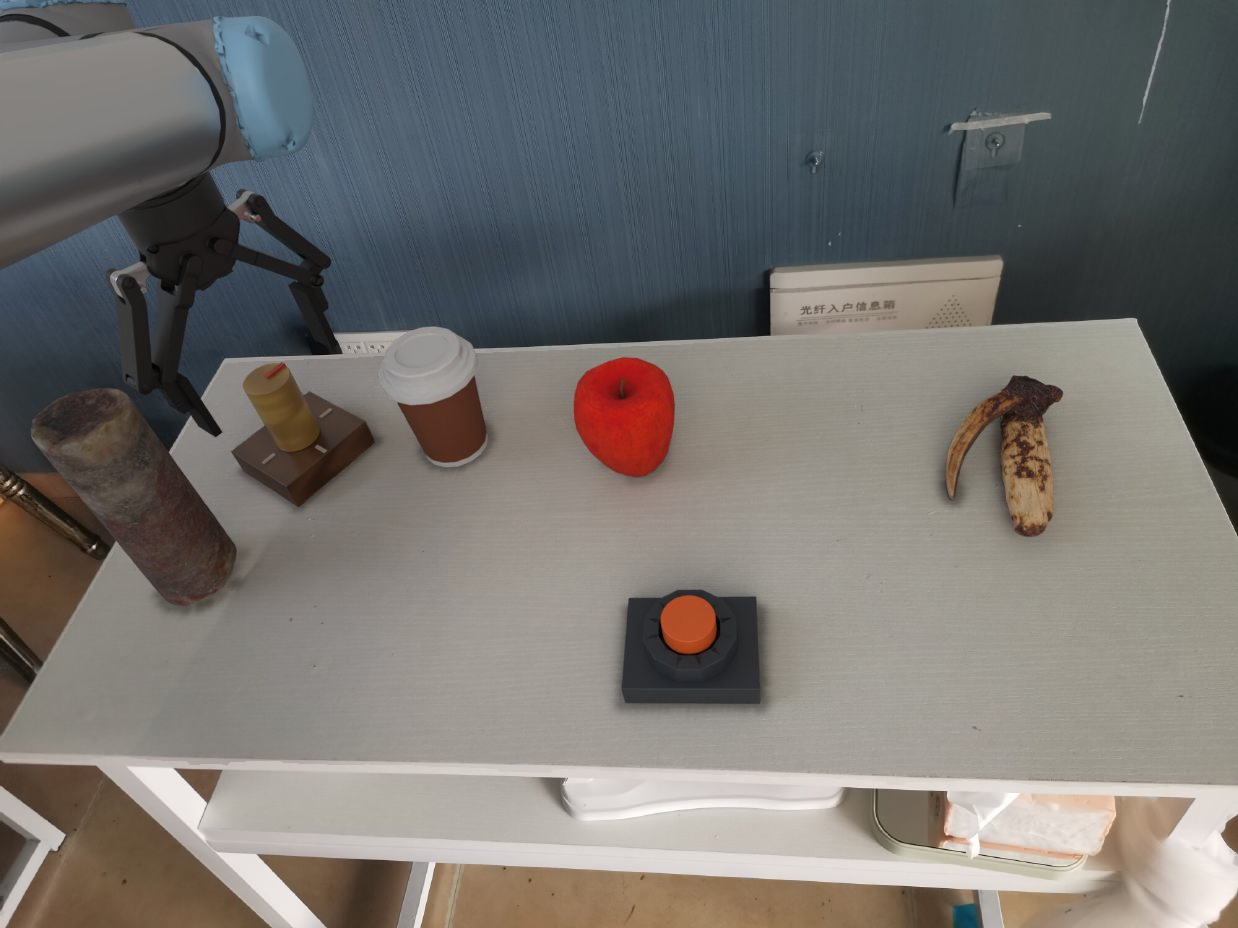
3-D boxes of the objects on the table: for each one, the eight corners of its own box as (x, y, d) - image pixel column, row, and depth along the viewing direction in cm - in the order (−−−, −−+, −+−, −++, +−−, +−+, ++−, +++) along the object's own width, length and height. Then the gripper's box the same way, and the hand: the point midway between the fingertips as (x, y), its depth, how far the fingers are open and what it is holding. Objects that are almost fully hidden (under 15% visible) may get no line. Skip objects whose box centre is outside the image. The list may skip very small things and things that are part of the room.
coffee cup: (392, 457, 87) (350, 365, 79) (453, 400, 92) (419, 308, 83) (459, 490, 83) (423, 397, 75) (520, 429, 88) (492, 334, 79)
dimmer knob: (294, 458, 85) (260, 398, 79) (266, 441, 87) (231, 382, 81) (329, 429, 87) (298, 370, 81) (301, 414, 89) (269, 355, 83)
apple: (580, 498, 81) (559, 412, 73) (594, 430, 86) (577, 344, 79) (677, 500, 79) (666, 413, 71) (685, 430, 85) (676, 343, 77)
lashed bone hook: (945, 396, 84) (942, 541, 72) (950, 357, 81) (948, 503, 69) (1052, 401, 82) (1068, 553, 70) (1062, 361, 78) (1080, 514, 66)
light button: (661, 654, 64) (659, 641, 63) (663, 608, 67) (661, 595, 66) (716, 654, 64) (715, 641, 63) (716, 607, 67) (715, 594, 65)
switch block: (625, 703, 66) (618, 676, 63) (631, 612, 72) (625, 584, 69) (760, 704, 65) (759, 676, 62) (756, 611, 70) (756, 582, 67)
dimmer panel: (298, 507, 84) (285, 485, 82) (243, 471, 89) (229, 450, 86) (375, 442, 89) (365, 419, 87) (319, 411, 94) (308, 389, 91)
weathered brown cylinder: (179, 543, 83) (54, 384, 69) (253, 537, 82) (143, 376, 68) (149, 611, 78) (7, 456, 64) (228, 606, 77) (102, 447, 63)
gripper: (256, 95, 74) (345, 298, 90) (-26, 249, 62) (133, 454, 78) (312, 111, 71) (394, 320, 86) (24, 279, 59) (180, 487, 74)
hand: (271, 384), depth 82 cm, fingers open, 13 cm apart
